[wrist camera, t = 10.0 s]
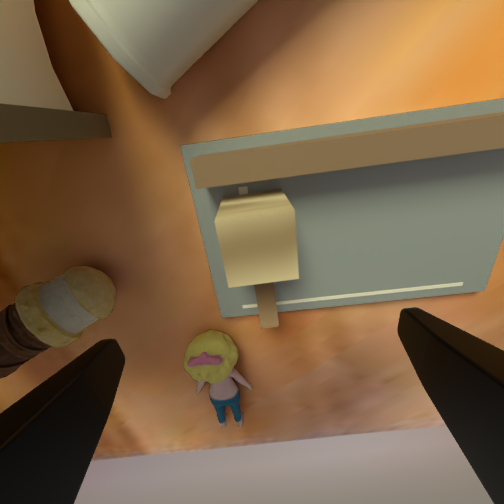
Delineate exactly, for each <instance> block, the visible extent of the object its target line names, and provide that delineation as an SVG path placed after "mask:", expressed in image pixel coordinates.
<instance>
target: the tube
mask: <svg viewBox="0 0 504 504" xmlns="http://www.w3.org/2000/svg"><path fill="white" fill-rule="evenodd" d="M258 1H259V0H69V2H70V4H71V6H72V7H73V8H74V10H75V11H76V12H77V14H78V15H79V16H80V17H81V19H82V20H83V21H84V22H85V24H86V25H87V26H88V27H89V29H90V30H91V31H92V32H93V34H94V35H95V36H96V38H97V39H98V40H99V41H100V43H101V44H102V45H103V46H104V48H105V49H106V50H107V51H108V53H109V54H110V55H111V57H112V58H113V59H114V60H115V61H116V62H117V63H118V64H119V65H120V66H121V67H122V68H123V69H125V70H126V71H127V72H128V73H129V74H130V75H131V76H132V77H133V78H134V79H135V80H136V81H137V82H138V83H140V84H141V85H142V86H143V87H144V88H145V89H146V90H147V91H148V92H149V93H150V94H153V95H155V96H158V97H160V98H163V99H166V98H167V97H168V96H169V95H170V94H171V87H172V85H173V84H174V83H175V82H176V81H177V80H178V79H179V78H180V77H181V76H182V75H183V74H184V73H185V72H186V71H187V70H188V69H189V68H190V67H191V66H192V65H193V64H194V63H195V62H196V61H197V60H198V59H199V58H200V57H201V56H202V55H203V54H204V53H205V52H206V51H208V50H209V49H210V48H211V47H212V46H213V45H214V44H215V43H216V42H217V41H218V40H219V39H220V38H221V37H222V36H223V35H224V34H225V33H226V32H227V31H228V30H229V29H230V28H231V27H232V26H233V25H234V24H235V23H236V22H237V21H238V20H239V19H240V18H241V17H242V16H243V15H244V14H245V13H246V12H247V11H248V10H249V9H250V8H251V7H252V6H253V5H254V4H255V3H257V2H258Z"/></svg>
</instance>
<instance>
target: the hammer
mask: <svg viewBox="0 0 504 504" xmlns="http://www.w3.org/2000/svg"><path fill="white" fill-rule="evenodd" d="M115 299H116V288H115V286H114V284H113V283H112V281H111V279H110V278H109V277H108V276H107V275H106V274H104V273H103V272H101V271H99V270H97V269H95V268H92V267H86V266H76V267H71V268H68V269H67V270H66V271H65V273H63V274H62V275H60V276H58V277H56V278H54V279H52V280H51V281H48V282H46V283H43V282H37V283H35V284H33V285H29V286H25V287H23V288H22V289H21V291H20V292H19V293H18V294H17V296H16V297H15V303H14V304H13V305H9V306H8V307H6V308H5V309H4V310H3V311H1V312H0V378H3V377H6V376H8V375H10V374H11V373H13V372H15V371H16V370H17V369H18V368H19V367H20V366H21V365H22V364H24V363H25V362H27V361H28V360H30V359H31V358H33V357H35V356H36V355H37V354H39V353H40V352H43V351H45V350H47V349H48V348H49V347H64V346H67V345H68V344H70V343H71V342H73V341H75V340H77V339H78V338H79V337H80V336H81V335H82V332H83V329H85V328H86V327H88V326H90V325H91V324H93V323H94V322H96V321H97V320H99V319H103V318H106V317H107V316H108V315H109V314H110V313H111V312H112V309H113V306H114V303H115Z"/></svg>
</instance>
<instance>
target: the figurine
mask: <svg viewBox="0 0 504 504" xmlns="http://www.w3.org/2000/svg"><path fill="white" fill-rule="evenodd" d="M237 358H238V349H237V347H236V346H235V344H234V342H233V341H232V339H231V337H230V336H229V335H227V334H225V333H222V332H221V331H215V330H208V331H206V332H205V333H202V334H199V335H198V336H196V337H195V338H194V339H193V340H192V341H191V342H190V344H189V346H188V348H187V350H186V352H185V356H184V363H183V366H184V369H185V370H186V371H187V372H188V373H189V374H190V375H191V377H192V378H193V379H194V380H196V381H198V385H197V387H198V388H197V394H198V393H199V391H200V390H201V388H202V387H203V385H204V383H205V382H209V383H210V384H211V386H210V390H209V395H210V400H211V402H212V404H213V405H214V407H215V409H216V411H217V417H218V420H219V422H220V424H221V428H224V427H225V426H226V425H227V422H226V420H227V419H226V415H225V406H230V407H231V410H232V412H233V414H234V419H235V420H236V422H237V423H238V426H239V427H242V425H243V422H244V418H243V414H242V413H241V411H240V407H239V389H238V387H237V385H236V383H235V382H234V381H233V379H232V377H233V378H234V379H235V380H236V381H237V382H239V383H240V384H242V385H243V386H246V387H247V388H248V389H249V390H251V391H252V386H251V384H250V383H247V381H246V379H245V378H243V377H242V376H241V375H240V374H239V373H238V371H237V370H236V369H235V368H233V367H234V365H235V364H236V362H237Z"/></svg>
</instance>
